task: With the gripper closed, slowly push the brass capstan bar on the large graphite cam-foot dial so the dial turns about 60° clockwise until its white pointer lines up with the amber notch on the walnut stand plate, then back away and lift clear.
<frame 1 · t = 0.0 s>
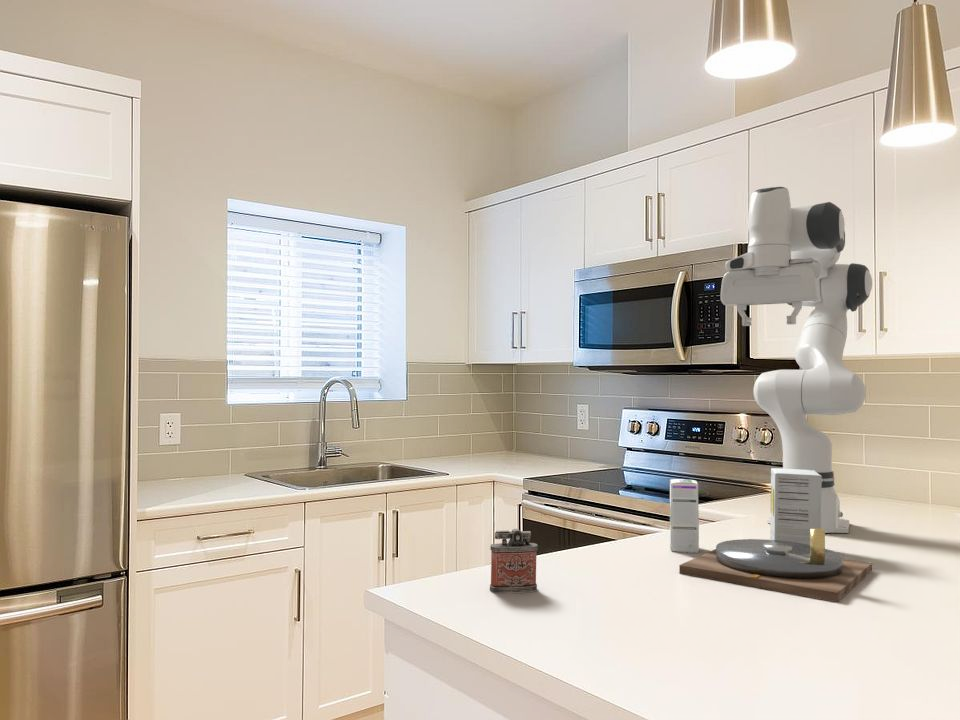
hand: (768, 325, 162), 48 cm above the worktop, tool pointing down, fingers open, 8 cm apart
lighter: (513, 591, 126), on the worktop
cam foot dial: (777, 540, 141), point 6 cm above the worktop, hinge at 60.0°
supplement box: (794, 551, 160), on the worktop
stand plate: (777, 572, 141), on the worktop
syrup box: (683, 550, 159), on the worktop
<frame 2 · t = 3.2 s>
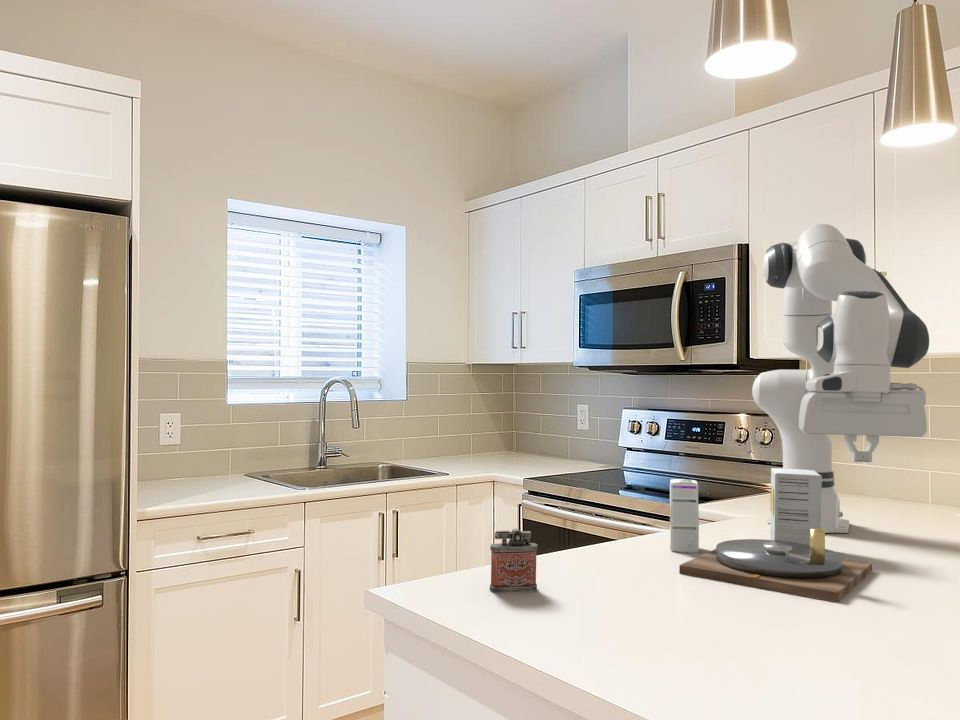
hand: (861, 461, 131), 22 cm above the worktop, tool pointing down, fingers closed
nothing on the worktop moved.
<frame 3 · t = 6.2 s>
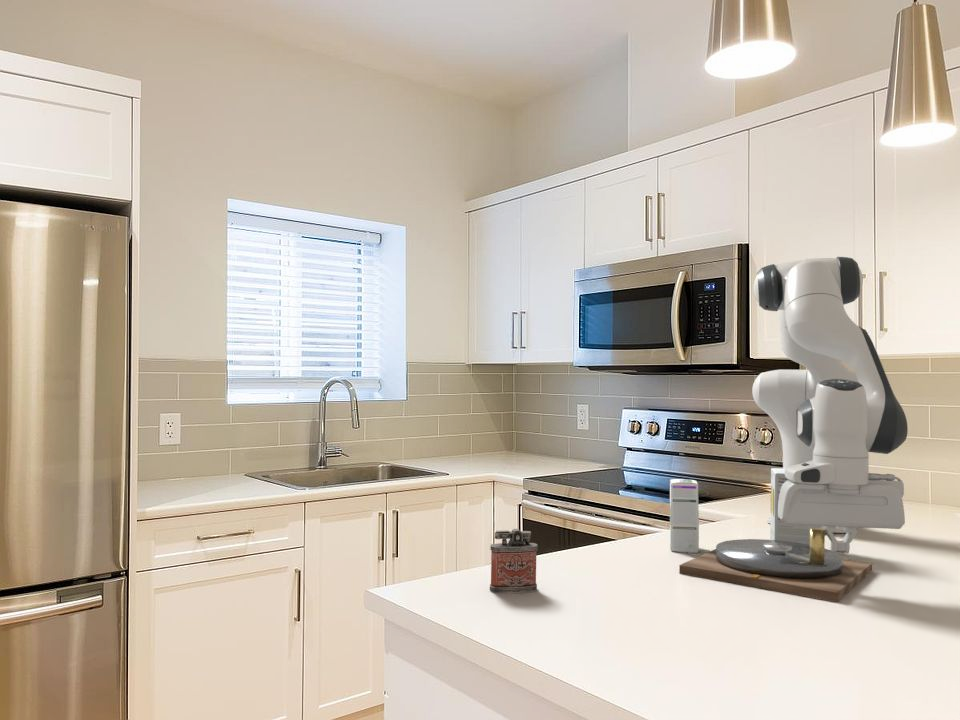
hand: (839, 552, 131), 6 cm above the worktop, tool pointing down, fingers closed
cam foot dial: (777, 540, 141), point 6 cm above the worktop, hinge at 59.6°, touching gripper
everything else where it was.
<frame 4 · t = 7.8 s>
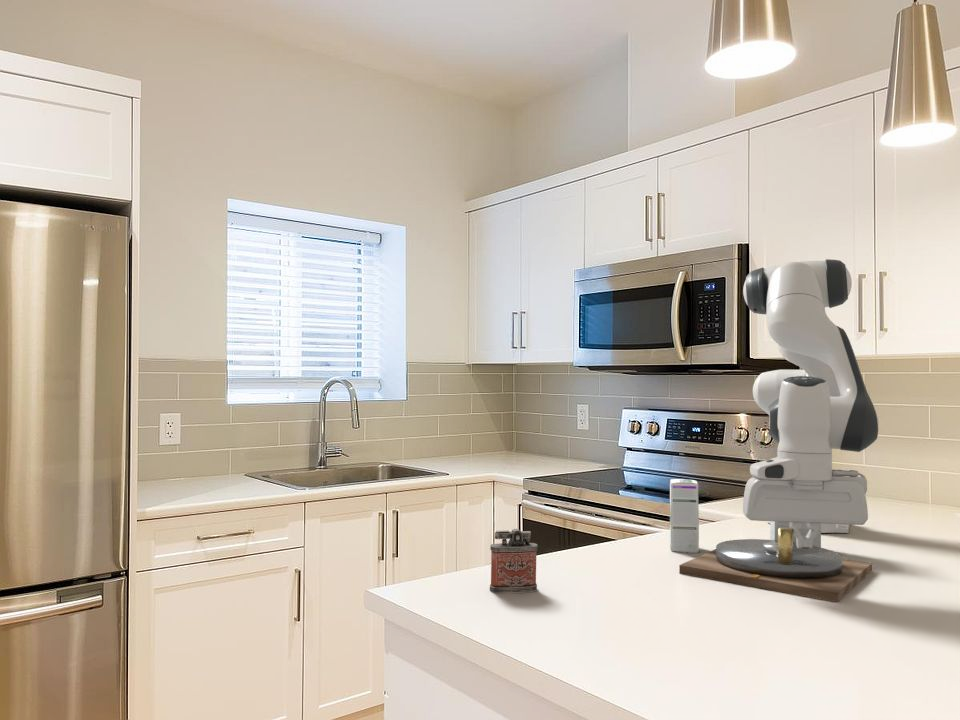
hand: (804, 548, 131), 7 cm above the worktop, tool pointing down, fingers closed
cam foot dial: (777, 540, 141), point 6 cm above the worktop, hinge at 24.1°, touching gripper
everything else where it was.
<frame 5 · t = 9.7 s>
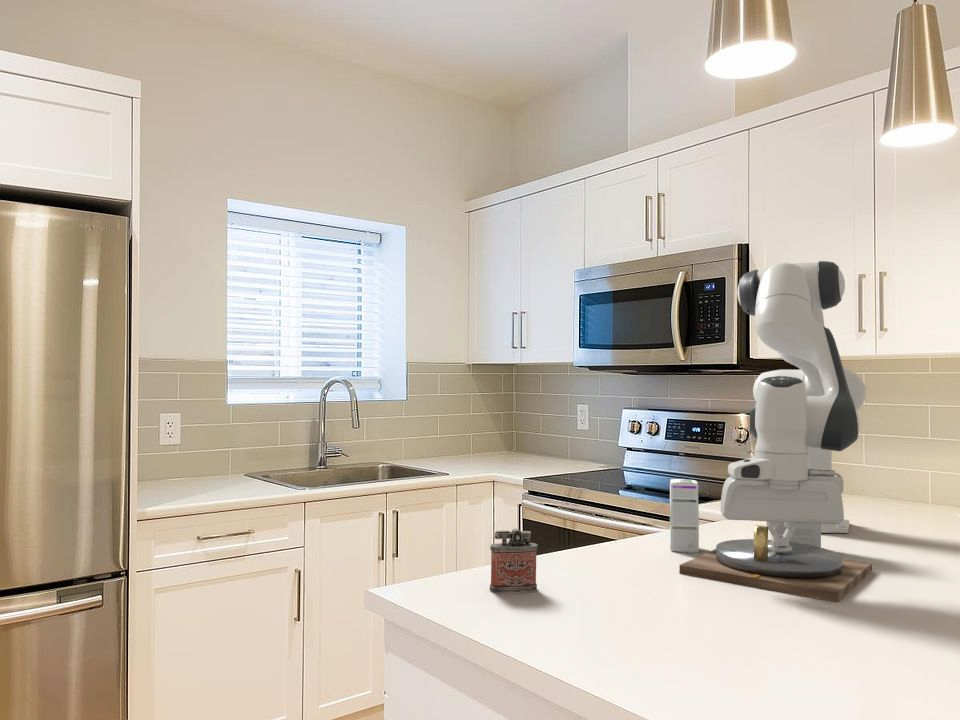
hand: (780, 547, 132), 7 cm above the worktop, tool pointing down, fingers closed
cam foot dial: (777, 540, 141), point 6 cm above the worktop, hinge at -0.2°, touching gripper
everything else where it was.
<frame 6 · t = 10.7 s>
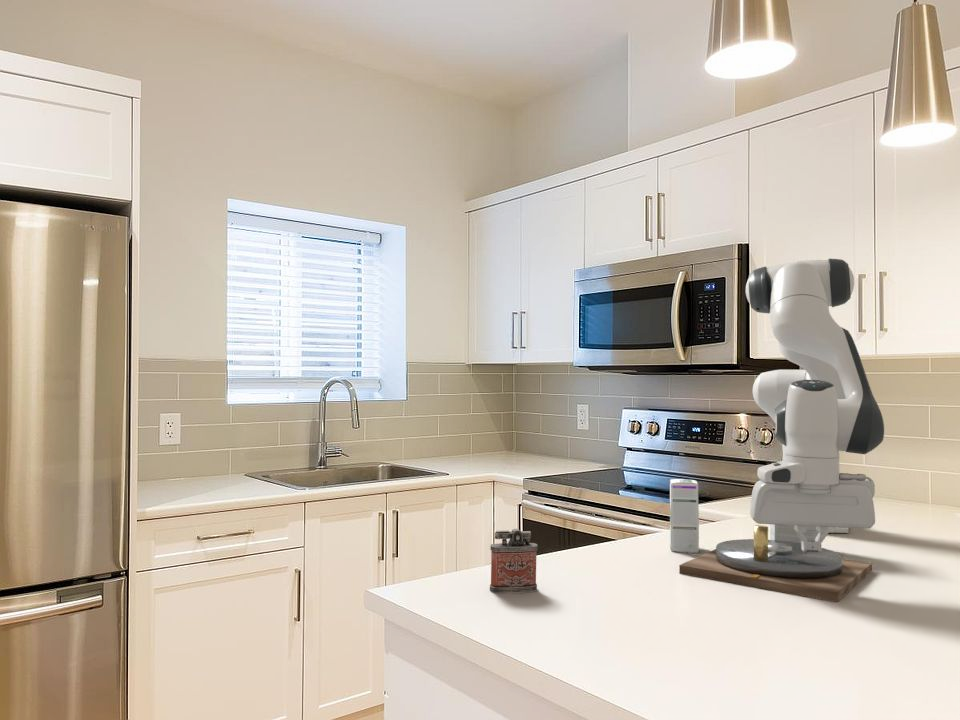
hand: (811, 551, 132), 6 cm above the worktop, tool pointing down, fingers closed
cam foot dial: (777, 540, 141), point 6 cm above the worktop, hinge at -0.3°
everything else where it was.
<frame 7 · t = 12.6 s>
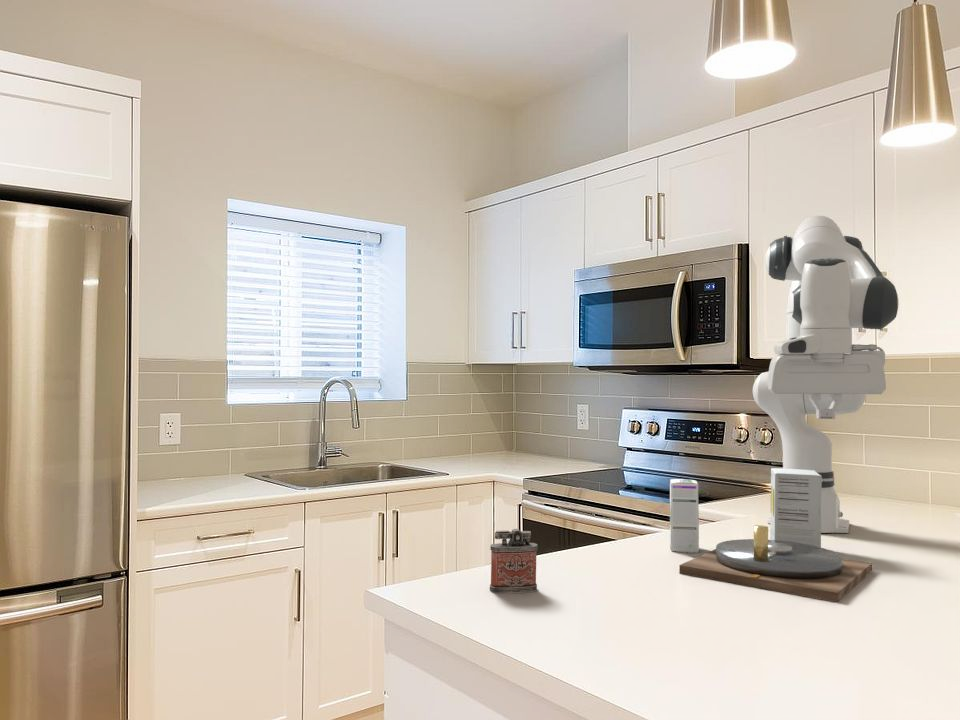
hand: (825, 418, 141), 29 cm above the worktop, tool pointing down, fingers closed
nothing on the worktop moved.
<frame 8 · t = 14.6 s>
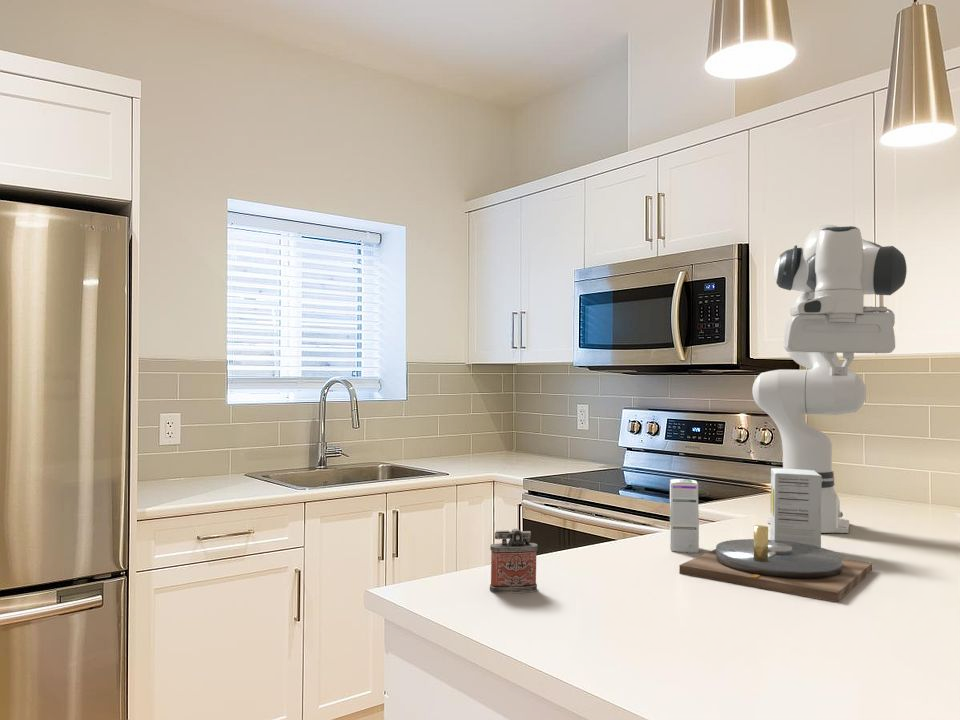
hand: (838, 375, 149), 37 cm above the worktop, tool pointing down, fingers closed
nothing on the worktop moved.
at the end: cam foot dial at +0° (first picture: +60°); syrup box moved 0.2 cm from its start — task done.
